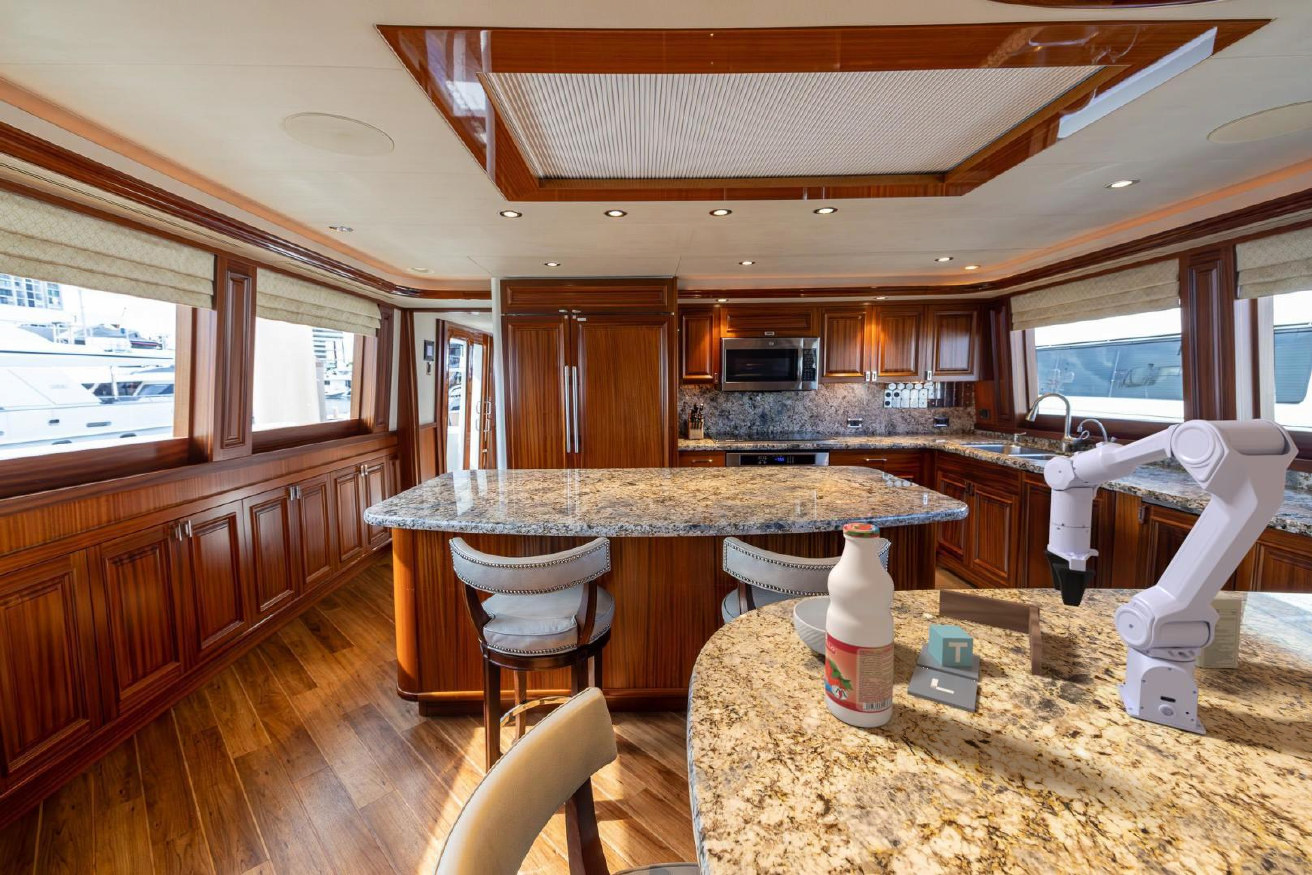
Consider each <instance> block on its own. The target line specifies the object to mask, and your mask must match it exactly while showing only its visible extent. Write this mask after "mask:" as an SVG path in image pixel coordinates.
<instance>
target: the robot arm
mask: <svg viewBox="0 0 1312 875" xmlns="http://www.w3.org/2000/svg"><path fill="white" fill-rule="evenodd" d="M1095 446H1096V447H1095V448H1091V449H1089V450H1086V451H1084V450H1082V451H1081V450H1079V451H1076V452H1074V453H1073V455H1072V456H1071V457H1062V456H1054V457H1052V458H1051V459H1049V460H1048V461H1047V462H1046V463H1045V465H1044V469H1043V476H1044V477H1043V478H1044V480H1045V482H1046V484H1047V485H1048V487H1050V488H1051V496H1050V498H1051V499H1050V501H1051V502H1050V519H1049V537H1048V538H1049V539H1048V541H1049V542H1048V544H1047V548H1046V550H1043V553H1044V555H1045V557H1046V559H1047V561H1048V565H1049V567H1050V571H1051V577H1052V582H1053V588H1054V590H1055V591H1059V592H1060V594H1061V600H1062V604H1063V605H1064V606H1070V607H1077V608H1079V607H1080V605H1081V603H1082V600H1083V598H1084V594H1085V591H1086V589H1087V587H1088V585H1089V583H1090V582H1091V581H1092V579H1094V578H1095V577H1096V573H1097V572H1096V570H1095V569H1093V568H1091V569H1090V568H1086V564H1087V560H1089V558H1090V557H1091V556H1095V557H1098V556H1099V551H1098V550H1097V549H1094V548H1091V532H1092V530H1091V528H1092V511H1093V500H1095V498H1097V491H1098V489H1099V488H1100V487H1101V485H1102V484H1104V483H1108V482H1112V481H1115V480H1116V481H1117V480H1119V479H1123V478H1126V477H1129V476H1131V475H1133V473H1134V472H1135V470H1136V468H1137V466H1141V465H1145V464H1149V463H1153V462H1157V461H1161V460H1165V459H1177V461H1178V462H1179V464H1180V465H1181V466H1182V467H1183V468H1184V469H1185V470H1186V471H1187V473H1188V474H1189V475H1190V476H1191V477H1192V479H1194V480H1195V482H1196V483H1197V484H1198V485H1199V486H1200V487H1201V489H1202V490H1204V491H1206V492H1208V493H1209V495H1210V496H1211V499H1210V500H1209V502H1208V504H1207V505H1206V506H1205V508H1204V510H1203V511H1202V513H1201V514H1200V516H1199V518H1198V519H1197V521H1196V522H1195V524H1194V525H1193V527H1192V529H1191V530H1190V532H1189V533H1188V535H1187V536H1186V538H1185V539H1184V541H1183V542H1182V543H1181V546H1180V547H1179V549H1178V551H1177V552H1176V553H1175V555H1174V557H1173V558H1172V559H1171V561H1170V563H1169V565H1168V566H1167V567H1166V569H1165V570H1164V572H1163V574H1162V575H1161V577H1160V578H1159V580H1158V582H1157V583H1156V584H1155V585H1152V586H1151V587H1149V588H1146V589H1144V590H1142V591H1140V592H1138V593H1135V594H1133V596H1132V598H1131V599H1130V600H1129V601H1128V602H1127V603H1124V604H1122V605H1119V607H1118V608H1117V609H1116V610H1115V613H1114V616H1113V622H1114V627H1115V629H1116V632H1117V634H1118V635H1119V637H1120V638H1121V639H1122V642H1123V643H1124V644H1125V645H1127V650H1126V651H1127V652H1126V669H1125V680H1124V681H1125V683H1121V682H1120V683H1117V689H1118V693H1119V694H1120V698H1121V700H1122V702H1123V705H1124V708H1125V710H1126V713H1127V715H1128V716H1130V717H1133V718H1137V719H1140V720H1145V721H1150V722H1152V723H1157V724H1161V725H1164V726H1170V727H1173V728H1177V729H1180V730H1185V731H1188V732H1192V733H1196V734H1200V735H1206V734H1207V731H1206V729H1205V727H1204V725H1203V723H1202V721H1201V720H1200V718H1199V716H1198V705H1199V695H1200V694H1199V686H1198V683H1197V682H1196V680H1195V679H1196V678H1195V677H1196V656H1201V648H1205V647H1207V646H1209V645H1210V644H1211V643H1212V642H1213V639H1214V629H1215V625H1216V622H1217V621H1218V620H1219V618H1220V615H1219V614H1218V613H1217V611H1216V610H1215V609H1214V608H1213V606H1212V605H1211V604H1210V603H1211V602H1212V601H1213V599H1214V598H1215V596H1216V595H1217V594H1218V592H1219V591H1221V590H1222V588H1223V587H1224V586H1225V584H1226V582H1227V581H1228V580H1229V578H1230V577H1231V576H1232V574H1233V573H1234V572H1235V571H1236V570H1237V567H1238V566H1239V565H1240V563H1241V562H1242V561H1243V560H1244V558H1245V556H1246V555H1247V554H1248V552H1249V551H1250V550H1251V549H1252V547H1253V545H1254V544H1255V543H1256V542H1257V540H1258V539H1259V538H1260V536H1261V534H1262V533H1263V532H1264V531H1265V529H1266V528H1267V526H1268V525H1269V523H1270V522H1271V521H1272V520H1273V519H1274V517H1275V515H1276V514H1277V513H1278V511H1279V510H1280V509H1281V507H1282V504H1283V503H1284V498H1285V497H1284V496H1285V495H1284V494H1285V487H1286V478H1287V477H1286V476H1287V469H1288V468H1289V466H1290V465H1291V463H1293V460H1294V459H1295V458H1296V457H1297V455H1298V454H1299V452H1300V451H1299V449H1298V447H1297V446H1296V444H1295V442H1294V441H1293V438H1292V437H1291V435H1290V434H1289V432H1288V430H1287V429H1286V428H1285V427H1284V426H1283V425H1281V424H1280V423H1278V422H1277V421H1274V420H1271V419H1266V418H1254V419H1244V420H1243V419H1242V420H1241V419H1239V420H1238V419H1237V420H1206V419H1192V420H1187V421H1185V422H1184V423H1183V422H1182V423H1177V424H1173V425H1169V427H1168V428H1167V429H1164V430H1161V431H1159V432H1156V433H1153V434H1151V435H1149V436H1146V437H1144V438H1141V439H1139V440H1136V441H1133V442H1130V443H1129V444H1126V445H1123V444H1120V443H1115V442H1110V441H1100V442H1098V443H1096V444H1095Z"/></svg>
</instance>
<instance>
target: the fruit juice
mask: <svg viewBox="0 0 1312 875" xmlns="http://www.w3.org/2000/svg"><path fill="white" fill-rule="evenodd" d="M842 530H843V531H842V532H843V537H844V538H845V543H844V549H843V551H842V554H841V557H840V560H839V561H838V562H837V563H836V565H834V566H833V567H832V569H831V570H830V572H829V574H828V577H827V589H828V594H829V596H830V598H831V602H830V605H829V607H828V610H827V616H826V655H825V664H824V665H825V673H824V680H825V682H824V684H825V685H824V699H825V704H826V708H827V709H828V711H829V712H830V713H831V715H832V716H834V717H836V718H837V719H838V720H840V721H842V722H844V723H847V724H849V725H851V726H855V727H858V728H859V727H861V728H868V729H869V728H878V727H881V726H884V725H885V724H888V723H889V720H890V719H891V717H892V714H893V699H894V697H893V696H894V695H893V691H894V650H895V621H894V617H893V614H892V612H891V605H892V603H893V600H894V595H895V585H894V581H893V579H892V577H891V575H890V574H889V572H888V571H887V570H886V569H885V567H884V566H883V564H882V561H881V558H880V554H879V552H878V545H877V544H878V541H879V539H880V527H878V526H877V525H874V524H871V523H870V524H869V523H865V522H864V523H863V522H850V523H849V522H848V523H846V524H844V525H843V529H842Z"/></svg>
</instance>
